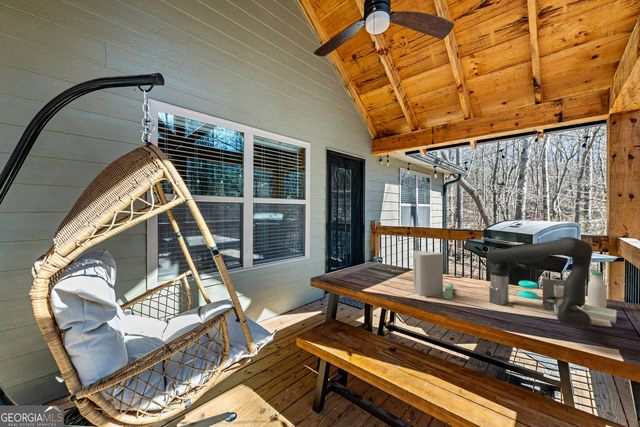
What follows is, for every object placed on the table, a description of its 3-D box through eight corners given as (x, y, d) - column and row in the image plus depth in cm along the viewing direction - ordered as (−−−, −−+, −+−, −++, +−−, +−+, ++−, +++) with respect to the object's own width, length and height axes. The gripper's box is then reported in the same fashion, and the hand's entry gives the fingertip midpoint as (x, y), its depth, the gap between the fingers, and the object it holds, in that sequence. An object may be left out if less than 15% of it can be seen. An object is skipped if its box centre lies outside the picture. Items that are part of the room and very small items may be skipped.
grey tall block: (568, 316, 136) (568, 285, 136) (555, 314, 139) (555, 283, 139) (566, 312, 141) (566, 282, 141) (554, 310, 144) (554, 281, 144)
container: (447, 279, 194) (445, 288, 172) (455, 283, 192) (454, 293, 170) (443, 287, 195) (441, 296, 173) (452, 291, 193) (450, 301, 171)
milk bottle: (609, 309, 149) (609, 274, 149) (590, 307, 153) (590, 272, 153) (603, 305, 156) (603, 271, 155) (585, 302, 160) (585, 270, 160)
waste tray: (615, 324, 131) (615, 317, 131) (578, 316, 141) (578, 309, 141) (616, 316, 140) (616, 310, 140) (582, 309, 150) (582, 303, 150)
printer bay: (574, 316, 141) (574, 286, 141) (545, 311, 148) (544, 283, 148) (569, 309, 151) (569, 281, 151) (542, 304, 158) (542, 278, 158)
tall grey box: (408, 294, 183) (407, 253, 182) (415, 288, 194) (414, 250, 194) (437, 299, 171) (437, 256, 170) (443, 293, 183) (442, 252, 182)
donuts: (515, 279, 177) (532, 280, 175) (515, 294, 177) (532, 295, 175) (523, 284, 167) (541, 284, 165) (523, 299, 167) (541, 300, 165)
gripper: (587, 301, 124) (578, 292, 138) (546, 296, 132) (542, 287, 146) (587, 317, 124) (578, 306, 138) (547, 311, 132) (542, 301, 146)
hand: (560, 296), depth 142 cm, fingers closed on grey tall block, 5 cm apart
